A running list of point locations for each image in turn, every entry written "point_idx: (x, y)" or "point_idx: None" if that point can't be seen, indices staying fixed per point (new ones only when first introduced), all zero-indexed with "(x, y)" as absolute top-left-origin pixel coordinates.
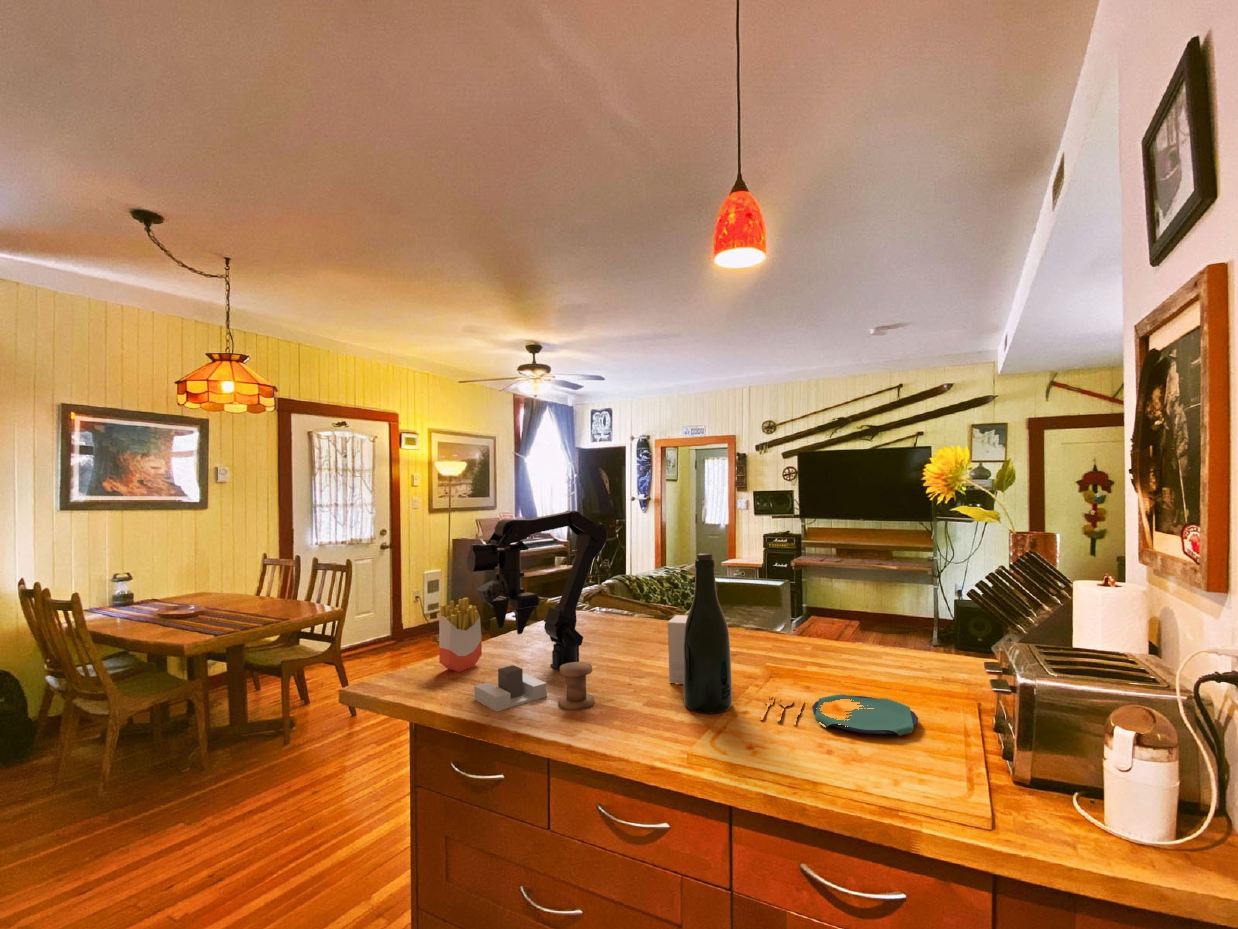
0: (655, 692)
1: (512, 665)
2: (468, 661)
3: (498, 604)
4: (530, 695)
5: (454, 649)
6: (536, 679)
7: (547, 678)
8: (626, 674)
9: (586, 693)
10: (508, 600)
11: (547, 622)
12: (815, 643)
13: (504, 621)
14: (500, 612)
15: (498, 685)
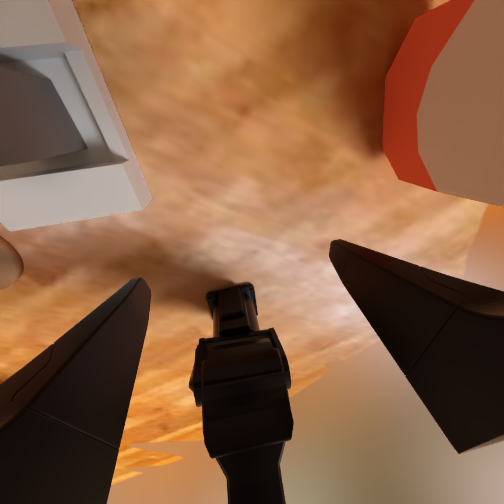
0: (27, 362)
1: (18, 156)
2: (398, 126)
3: (482, 367)
4: (16, 174)
5: (468, 32)
6: (58, 219)
7: (184, 259)
8: (142, 354)
9: (1, 287)
10: (450, 435)
11: (256, 378)
12: (164, 460)
13: (343, 283)
14: (397, 310)
15: (19, 72)
